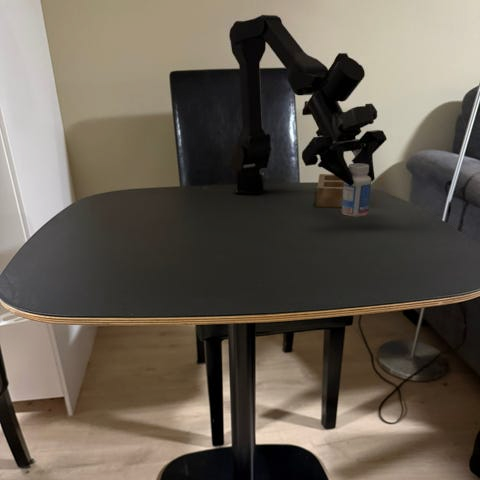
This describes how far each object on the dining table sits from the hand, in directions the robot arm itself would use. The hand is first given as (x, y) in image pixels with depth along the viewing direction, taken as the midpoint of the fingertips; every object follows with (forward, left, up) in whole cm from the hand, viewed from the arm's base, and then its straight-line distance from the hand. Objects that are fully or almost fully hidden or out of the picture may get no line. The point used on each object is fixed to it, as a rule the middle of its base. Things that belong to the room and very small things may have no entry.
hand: (362, 182), depth 96 cm
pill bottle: (-1, +1, -7) cm, 7 cm away
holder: (-5, +25, -10) cm, 27 cm away
